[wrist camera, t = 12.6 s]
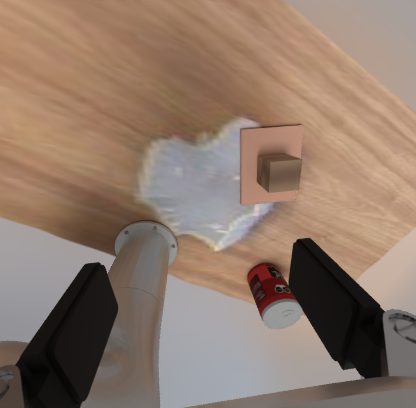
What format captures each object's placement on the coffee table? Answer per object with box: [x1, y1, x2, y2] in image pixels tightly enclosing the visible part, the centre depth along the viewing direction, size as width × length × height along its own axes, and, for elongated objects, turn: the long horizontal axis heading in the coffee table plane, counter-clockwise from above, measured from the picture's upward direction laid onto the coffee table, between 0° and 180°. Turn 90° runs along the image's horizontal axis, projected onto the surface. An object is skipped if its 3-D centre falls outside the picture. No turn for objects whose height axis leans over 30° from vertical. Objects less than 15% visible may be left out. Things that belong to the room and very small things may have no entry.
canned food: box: [248, 264, 302, 329], centre depth 43 cm, size 8×8×11 cm
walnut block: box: [257, 153, 302, 193], centre depth 34 cm, size 5×5×6 cm
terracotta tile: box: [240, 125, 304, 205], centre depth 37 cm, size 14×11×1 cm
